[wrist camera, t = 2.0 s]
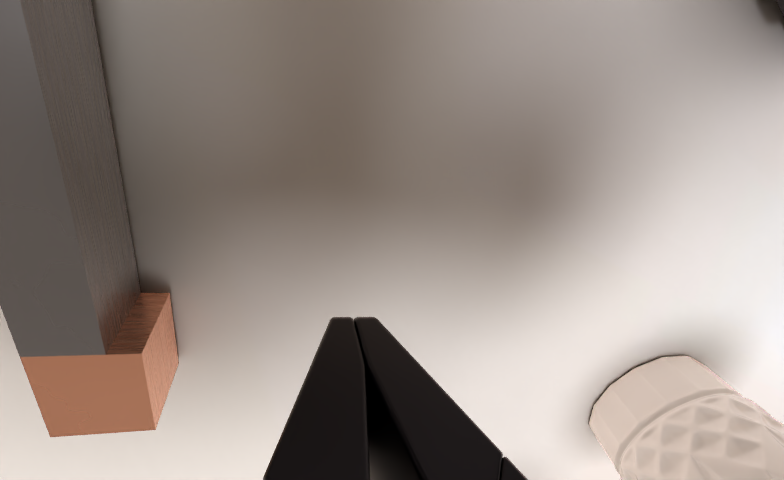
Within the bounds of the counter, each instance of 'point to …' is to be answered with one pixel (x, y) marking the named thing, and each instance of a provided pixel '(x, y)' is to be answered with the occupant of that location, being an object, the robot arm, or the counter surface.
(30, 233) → the bar
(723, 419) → the white cup
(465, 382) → the counter surface
